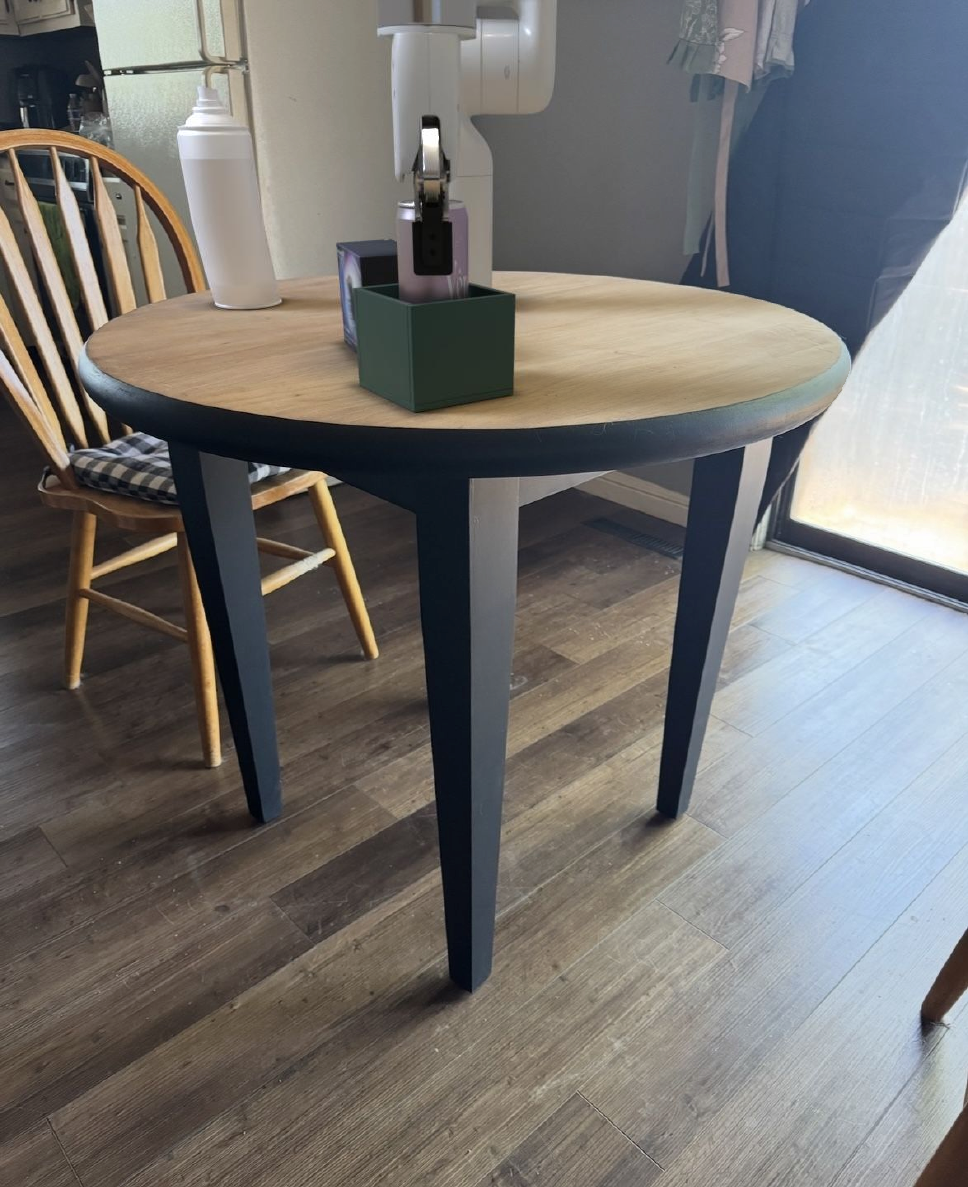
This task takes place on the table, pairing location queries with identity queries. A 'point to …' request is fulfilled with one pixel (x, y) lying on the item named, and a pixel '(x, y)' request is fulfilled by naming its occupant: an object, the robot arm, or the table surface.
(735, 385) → the table surface
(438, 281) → the beverage can
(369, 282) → the small box
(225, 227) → the spray can
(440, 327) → the bin
